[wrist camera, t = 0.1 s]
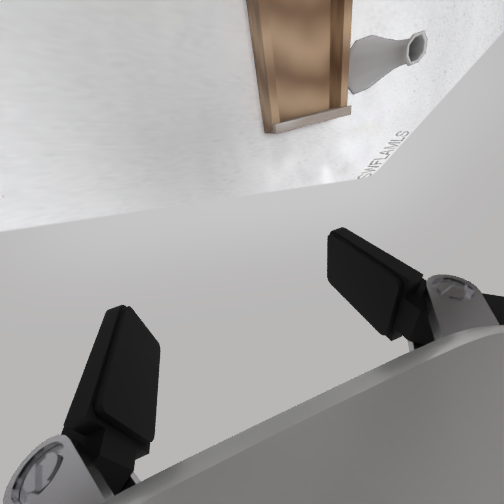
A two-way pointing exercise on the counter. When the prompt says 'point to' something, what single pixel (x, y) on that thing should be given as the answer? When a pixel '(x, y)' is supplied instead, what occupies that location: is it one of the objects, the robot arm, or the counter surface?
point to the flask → (382, 58)
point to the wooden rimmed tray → (301, 60)
